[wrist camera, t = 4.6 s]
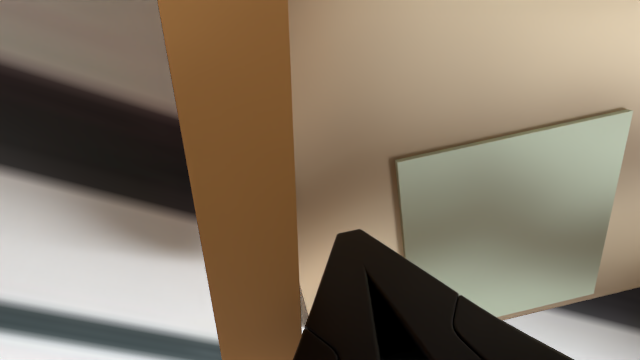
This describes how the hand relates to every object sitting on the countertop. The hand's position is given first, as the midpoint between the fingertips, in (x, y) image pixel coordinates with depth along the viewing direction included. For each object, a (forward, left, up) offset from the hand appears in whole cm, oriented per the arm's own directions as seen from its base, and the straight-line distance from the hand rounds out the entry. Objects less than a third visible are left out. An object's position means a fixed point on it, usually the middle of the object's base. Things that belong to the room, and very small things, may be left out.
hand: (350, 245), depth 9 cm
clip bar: (+7, +1, -1) cm, 7 cm away
